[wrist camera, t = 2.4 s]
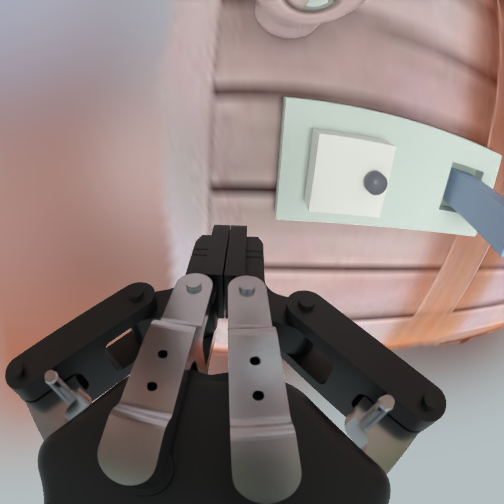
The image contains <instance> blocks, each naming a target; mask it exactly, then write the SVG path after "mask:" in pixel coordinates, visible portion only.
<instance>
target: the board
mask: <svg viewBox="0 0 504 504" xmlns="http://www.w3.org/2000/svg"><path fill="white" fill-rule="evenodd" d="M313 128H316V129H324V130H332V131H339V132H345V133H351V134H357V135H363V136H368V137H374V138H379V139H383V140H386V141H388V142H389V143H391V144H393V145H395V146H396V150H395V155H394V160H393V165H392V169H391V174H390V178H389V182H388V186H387V191H386V194H385V198H384V202H383V206H382V210H381V213H380V217H369V216H358V215H347V214H334V213H321V212H309V211H308V209H307V206H306V203H305V201H304V198H305V190H306V183H307V175H308V167H309V159H310V151H311V142H312V133H313ZM501 158H502V155H500V154H498V153H496V152H494V151H493V150H491V149H489V148H486V147H484V146H482V145H480V144H477V143H475V142H473V141H470V140H468V139H465V138H463V137H460V136H458V135H455V134H453V133H450V132H447V131H444V130H442V129H439V128H436V127H433V126H430V125H427V124H424V123H420V122H417V121H414V120H410V119H407V118H403V117H400V116H396V115H392V114H388V113H384V112H380V111H376V110H371V109H366V108H362V107H357V106H352V105H346V104H340V103H334V102H328V101H321V100H314V99H306V98H297V97H287V96H283V106H282V120H281V134H280V147H279V159H278V171H277V183H276V195H275V206H274V210H275V218H276V220H290V221H308V222H324V223H338V224H352V225H365V226H378V227H389V228H400V229H411V230H421V231H431V232H440V233H449V234H458V235H466V236H474V237H475V236H476V234H477V231H476V230H475V229H474V228H473V227H472V226H471V225H470V224H469V223H468V222H467V221H466V220H465V219H464V218H463V217H462V216H461V215H460V214H459V213H458V212H457V211H455V210H454V209H453V208H452V207H451V206H450V205H449V204H448V203H447V202H445V201H444V200H443V199H442V198H443V195H444V191H445V188H446V185H447V181H448V178H449V174H450V170H451V168H455V169H458V170H461V171H465V172H468V173H470V174H472V175H473V176H475V177H476V178H478V179H479V180H481V181H482V182H484V183H485V184H486V185H488V186H489V187H491V188H492V189H493V187H494V184H495V181H496V177H497V174H498V170H499V166H500V162H501Z"/></svg>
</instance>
